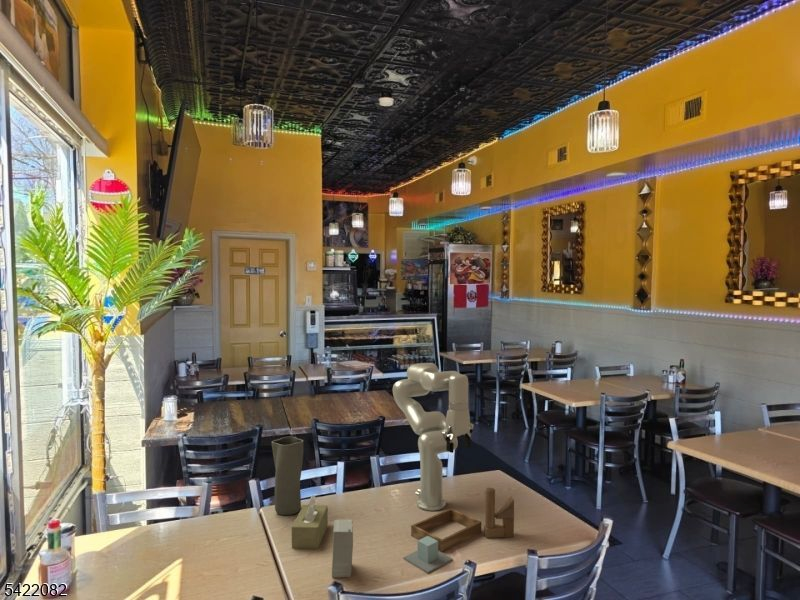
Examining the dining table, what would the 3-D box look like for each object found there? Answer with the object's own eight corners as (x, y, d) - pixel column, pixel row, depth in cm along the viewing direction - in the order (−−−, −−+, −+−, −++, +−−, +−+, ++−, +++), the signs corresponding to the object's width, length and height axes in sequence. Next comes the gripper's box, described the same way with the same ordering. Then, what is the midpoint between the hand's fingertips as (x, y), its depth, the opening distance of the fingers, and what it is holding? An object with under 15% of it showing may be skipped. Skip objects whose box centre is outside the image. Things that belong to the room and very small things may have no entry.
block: (417, 557, 176) (417, 540, 176) (427, 552, 180) (427, 535, 180) (427, 563, 173) (427, 546, 173) (438, 558, 176) (438, 541, 176)
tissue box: (318, 549, 183) (317, 506, 183) (291, 549, 184) (290, 506, 183) (328, 524, 202) (327, 485, 202) (303, 524, 203) (303, 485, 202)
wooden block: (514, 536, 192) (514, 489, 191) (486, 538, 191) (486, 491, 190) (511, 532, 195) (511, 486, 195) (483, 533, 194) (483, 487, 194)
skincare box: (332, 564, 173) (332, 519, 173) (353, 563, 174) (353, 518, 173) (331, 579, 165) (330, 531, 164) (353, 577, 166) (353, 530, 165)
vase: (309, 511, 214) (308, 441, 213) (282, 520, 206) (281, 447, 205) (294, 502, 223) (294, 434, 222) (268, 510, 215) (267, 440, 214)
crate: (411, 535, 193) (411, 525, 193) (450, 517, 207) (450, 508, 207) (441, 552, 181) (441, 541, 181) (481, 532, 196) (481, 521, 195)
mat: (403, 558, 177) (403, 557, 177) (427, 546, 185) (427, 545, 185) (427, 573, 168) (427, 571, 168) (452, 560, 176) (452, 558, 176)
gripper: (465, 401, 209) (465, 442, 209) (436, 408, 197) (436, 451, 198) (480, 404, 203) (479, 446, 204) (450, 411, 192) (450, 456, 192)
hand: (458, 449), depth 201 cm, fingers open, 9 cm apart
